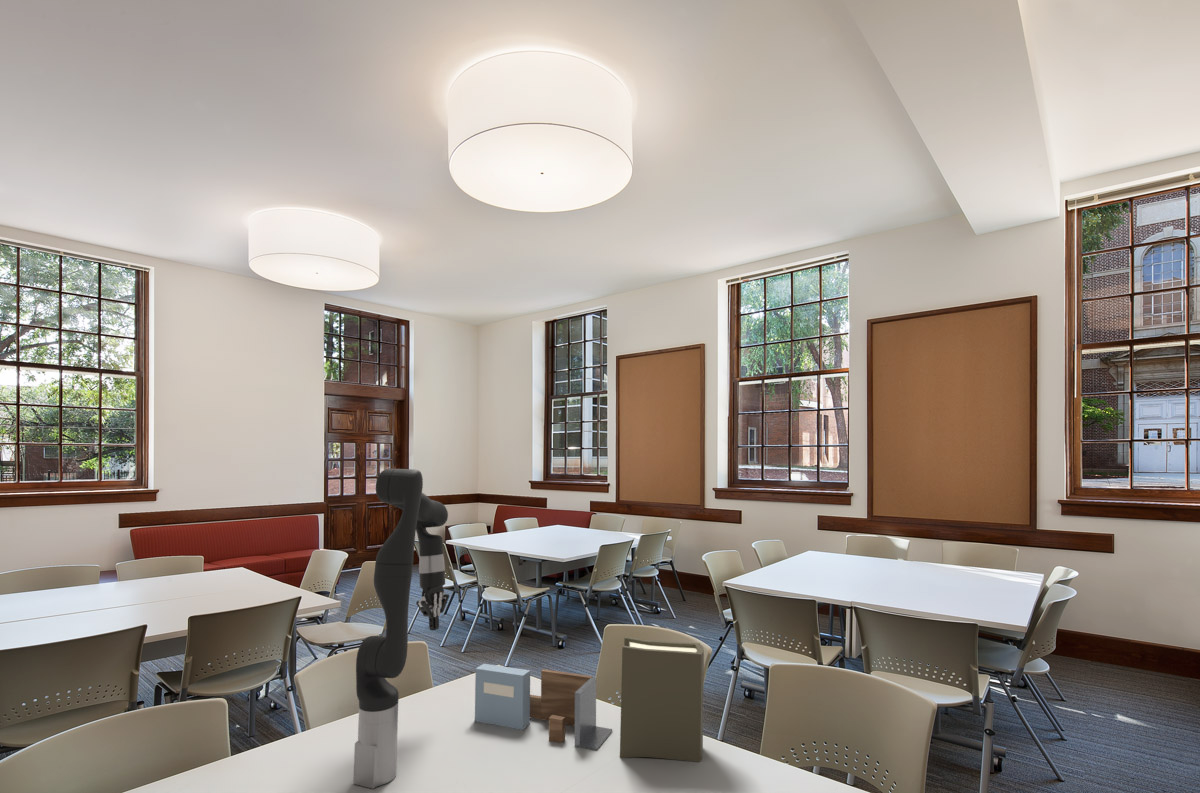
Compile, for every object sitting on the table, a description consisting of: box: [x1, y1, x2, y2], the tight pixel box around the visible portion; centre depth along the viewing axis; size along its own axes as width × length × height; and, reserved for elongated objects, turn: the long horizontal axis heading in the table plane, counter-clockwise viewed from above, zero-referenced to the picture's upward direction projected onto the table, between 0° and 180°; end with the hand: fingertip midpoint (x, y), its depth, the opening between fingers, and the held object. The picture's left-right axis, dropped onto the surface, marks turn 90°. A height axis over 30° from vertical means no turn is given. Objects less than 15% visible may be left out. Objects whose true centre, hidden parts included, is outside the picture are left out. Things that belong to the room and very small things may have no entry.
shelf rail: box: [530, 668, 594, 744], centre depth 177 cm, size 12×29×14 cm, turn 69°
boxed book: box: [474, 663, 531, 731], centre depth 180 cm, size 5×16×15 cm, turn 69°
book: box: [619, 636, 705, 763], centre depth 163 cm, size 22×9×28 cm, turn 84°
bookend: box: [574, 677, 613, 751], centre depth 169 cm, size 12×6×14 cm, turn 159°
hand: (434, 629), depth 183 cm, fingers closed
